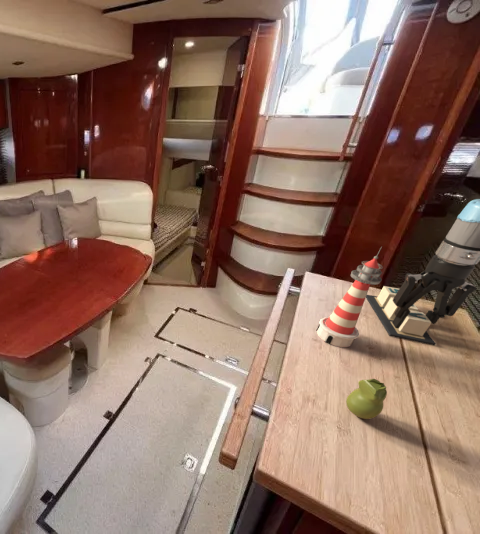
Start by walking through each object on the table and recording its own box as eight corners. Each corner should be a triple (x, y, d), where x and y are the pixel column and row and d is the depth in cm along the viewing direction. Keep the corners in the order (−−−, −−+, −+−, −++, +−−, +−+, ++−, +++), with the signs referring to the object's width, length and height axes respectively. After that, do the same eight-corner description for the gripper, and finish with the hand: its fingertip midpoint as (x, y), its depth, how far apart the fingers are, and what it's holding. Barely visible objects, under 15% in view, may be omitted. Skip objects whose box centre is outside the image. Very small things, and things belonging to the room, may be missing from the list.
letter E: (403, 313, 97) (411, 300, 95) (410, 322, 93) (419, 309, 91) (383, 309, 99) (391, 296, 97) (389, 318, 95) (397, 305, 93)
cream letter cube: (414, 325, 92) (423, 312, 89) (422, 336, 88) (432, 322, 85) (393, 321, 93) (401, 307, 91) (399, 331, 89) (409, 317, 87)
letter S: (395, 301, 103) (403, 288, 100) (401, 309, 99) (410, 296, 96) (376, 298, 105) (384, 285, 102) (382, 306, 101) (389, 293, 98)
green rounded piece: (379, 423, 67) (402, 394, 62) (355, 424, 67) (376, 394, 62) (358, 401, 71) (378, 372, 66) (336, 402, 71) (354, 372, 66)
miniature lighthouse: (348, 353, 84) (403, 259, 69) (310, 336, 90) (353, 245, 75) (357, 338, 89) (410, 247, 74) (320, 323, 95) (362, 235, 80)
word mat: (401, 302, 103) (403, 300, 103) (434, 345, 86) (436, 343, 86) (365, 296, 107) (366, 294, 107) (389, 336, 90) (390, 333, 89)
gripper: (415, 259, 79) (373, 327, 91) (514, 273, 72) (455, 345, 84) (403, 247, 85) (365, 313, 97) (493, 259, 78) (441, 328, 90)
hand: (407, 327), depth 90 cm, fingers closed on cream letter cube, 5 cm apart
